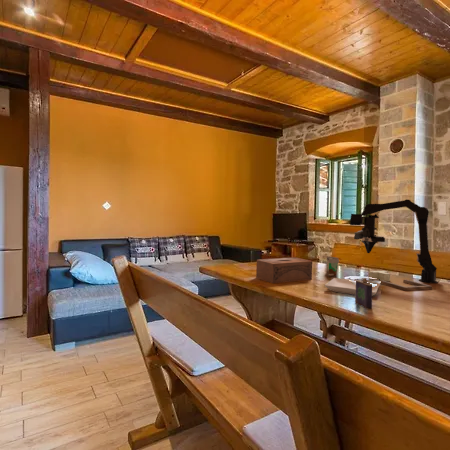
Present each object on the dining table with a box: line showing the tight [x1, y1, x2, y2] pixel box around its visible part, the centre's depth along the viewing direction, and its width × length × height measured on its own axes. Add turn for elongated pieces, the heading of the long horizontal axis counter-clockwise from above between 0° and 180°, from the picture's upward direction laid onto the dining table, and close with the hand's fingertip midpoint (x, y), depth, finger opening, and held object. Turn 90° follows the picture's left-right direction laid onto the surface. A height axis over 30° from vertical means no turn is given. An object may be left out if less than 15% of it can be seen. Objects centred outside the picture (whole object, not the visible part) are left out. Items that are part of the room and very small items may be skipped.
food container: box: [325, 256, 340, 278], centre depth 182 cm, size 12×6×10 cm, turn 168°
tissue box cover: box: [255, 257, 313, 284], centre depth 170 cm, size 26×14×10 cm, turn 118°
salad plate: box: [324, 277, 381, 297], centre depth 147 cm, size 21×21×3 cm
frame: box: [380, 279, 433, 292], centre depth 158 cm, size 16×16×2 cm
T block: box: [368, 270, 391, 282], centre depth 173 cm, size 10×8×4 cm
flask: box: [354, 277, 373, 310], centre depth 122 cm, size 9×3×11 cm, turn 8°
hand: (368, 253), depth 183 cm, fingers closed
